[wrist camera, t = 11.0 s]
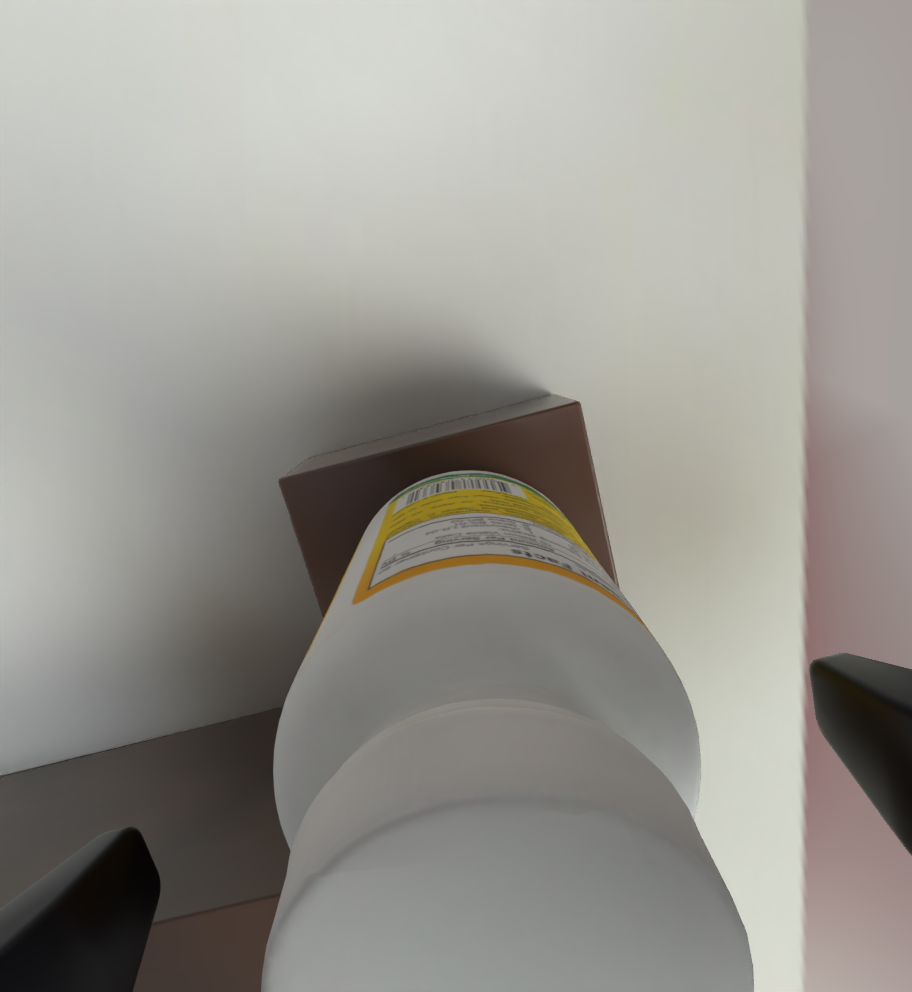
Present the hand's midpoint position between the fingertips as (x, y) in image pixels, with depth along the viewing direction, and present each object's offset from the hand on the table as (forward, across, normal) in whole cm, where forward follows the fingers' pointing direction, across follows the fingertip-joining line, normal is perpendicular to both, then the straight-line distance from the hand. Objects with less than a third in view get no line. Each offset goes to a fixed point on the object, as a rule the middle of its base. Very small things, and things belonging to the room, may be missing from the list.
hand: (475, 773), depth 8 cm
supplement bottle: (+7, 0, 0) cm, 7 cm away
